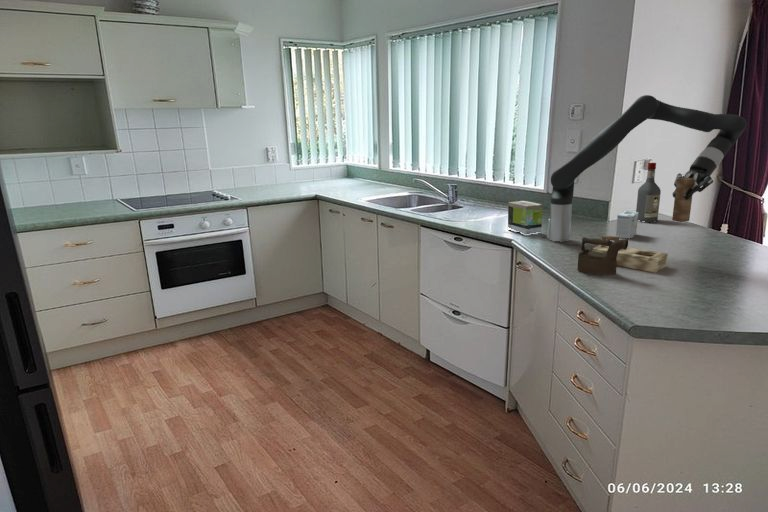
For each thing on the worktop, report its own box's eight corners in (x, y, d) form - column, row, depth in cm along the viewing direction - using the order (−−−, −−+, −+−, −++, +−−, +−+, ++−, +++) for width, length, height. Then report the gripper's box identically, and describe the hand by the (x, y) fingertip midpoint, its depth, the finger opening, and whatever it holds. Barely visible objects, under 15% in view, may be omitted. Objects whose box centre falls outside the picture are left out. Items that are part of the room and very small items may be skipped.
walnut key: (672, 220, 190) (677, 178, 186) (679, 218, 191) (684, 177, 187) (681, 222, 186) (686, 179, 182) (689, 220, 188) (694, 178, 183)
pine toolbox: (591, 260, 198) (593, 236, 195) (603, 255, 204) (604, 232, 201) (656, 272, 180) (658, 246, 178) (666, 266, 187) (669, 241, 184)
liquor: (632, 220, 262) (637, 163, 254) (645, 218, 265) (651, 161, 257) (646, 223, 254) (652, 164, 245) (660, 221, 257) (666, 162, 248)
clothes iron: (620, 278, 176) (623, 242, 173) (575, 270, 187) (577, 236, 183) (627, 272, 182) (630, 237, 178) (583, 265, 192) (585, 231, 189)
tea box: (542, 233, 243) (543, 204, 239) (525, 236, 239) (526, 206, 235) (523, 228, 256) (524, 199, 252) (506, 230, 253) (507, 201, 249)
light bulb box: (621, 232, 238) (623, 210, 235) (636, 234, 234) (639, 212, 231) (615, 237, 230) (617, 214, 227) (630, 239, 226) (632, 216, 223)
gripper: (685, 154, 191) (658, 189, 190) (721, 156, 178) (693, 193, 178) (693, 167, 194) (667, 201, 194) (729, 170, 182) (701, 206, 181)
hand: (679, 197), depth 186 cm, fingers closed on walnut key, 4 cm apart
